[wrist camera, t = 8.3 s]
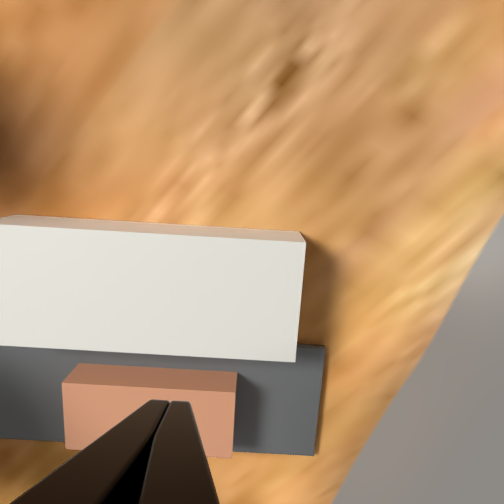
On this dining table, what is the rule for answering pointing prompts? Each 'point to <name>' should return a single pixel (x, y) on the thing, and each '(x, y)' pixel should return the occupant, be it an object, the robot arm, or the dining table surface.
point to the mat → (248, 371)
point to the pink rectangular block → (141, 391)
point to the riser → (150, 287)
